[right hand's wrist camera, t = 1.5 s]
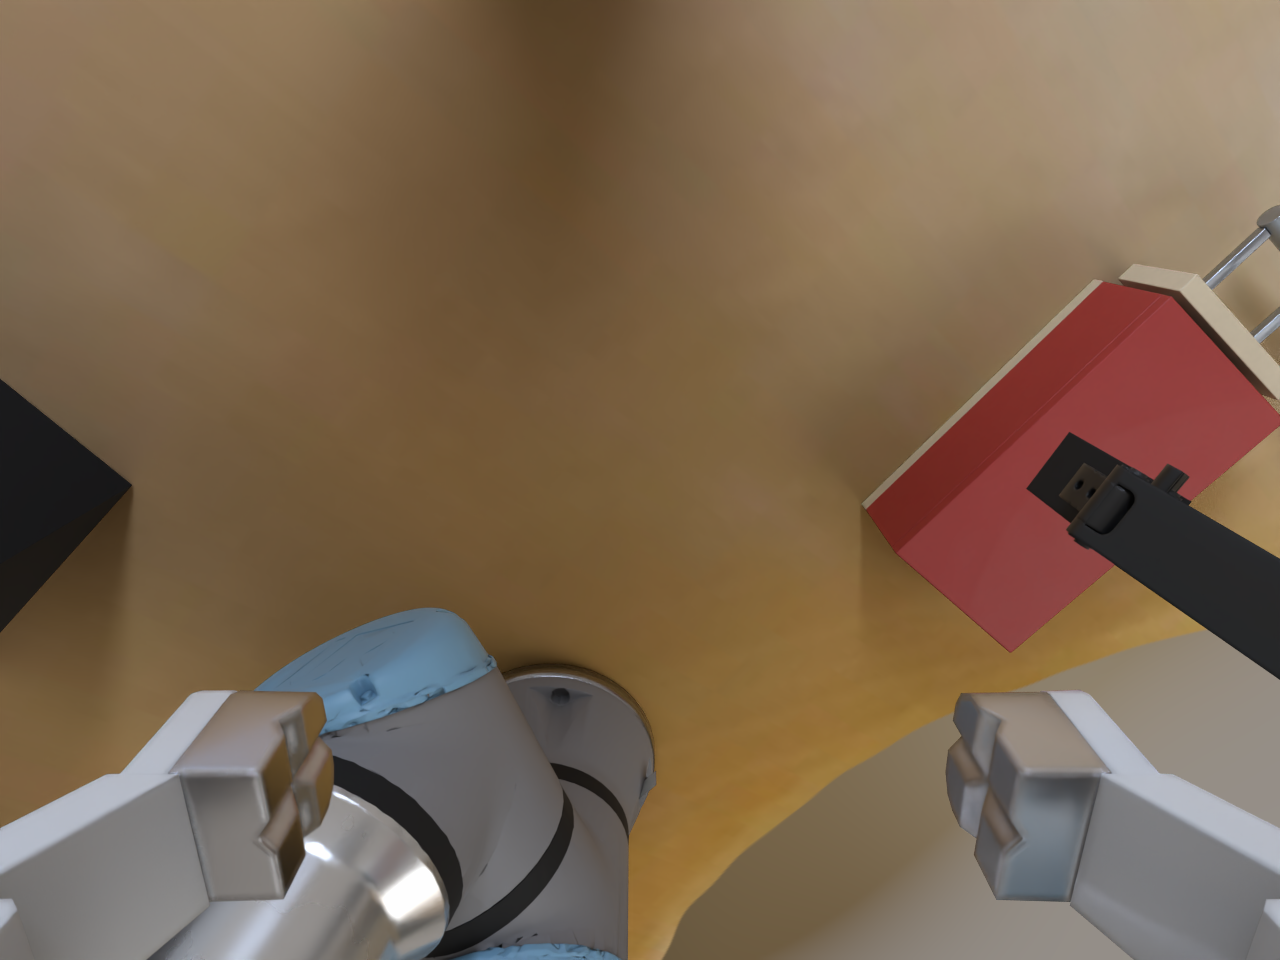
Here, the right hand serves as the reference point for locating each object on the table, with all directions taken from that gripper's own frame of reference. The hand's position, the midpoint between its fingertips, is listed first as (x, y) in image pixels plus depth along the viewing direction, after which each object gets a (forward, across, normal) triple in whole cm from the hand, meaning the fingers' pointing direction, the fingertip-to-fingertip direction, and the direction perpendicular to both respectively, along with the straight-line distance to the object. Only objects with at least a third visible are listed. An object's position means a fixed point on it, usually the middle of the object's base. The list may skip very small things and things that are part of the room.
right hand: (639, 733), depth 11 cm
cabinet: (+43, -25, +10) cm, 51 cm away
